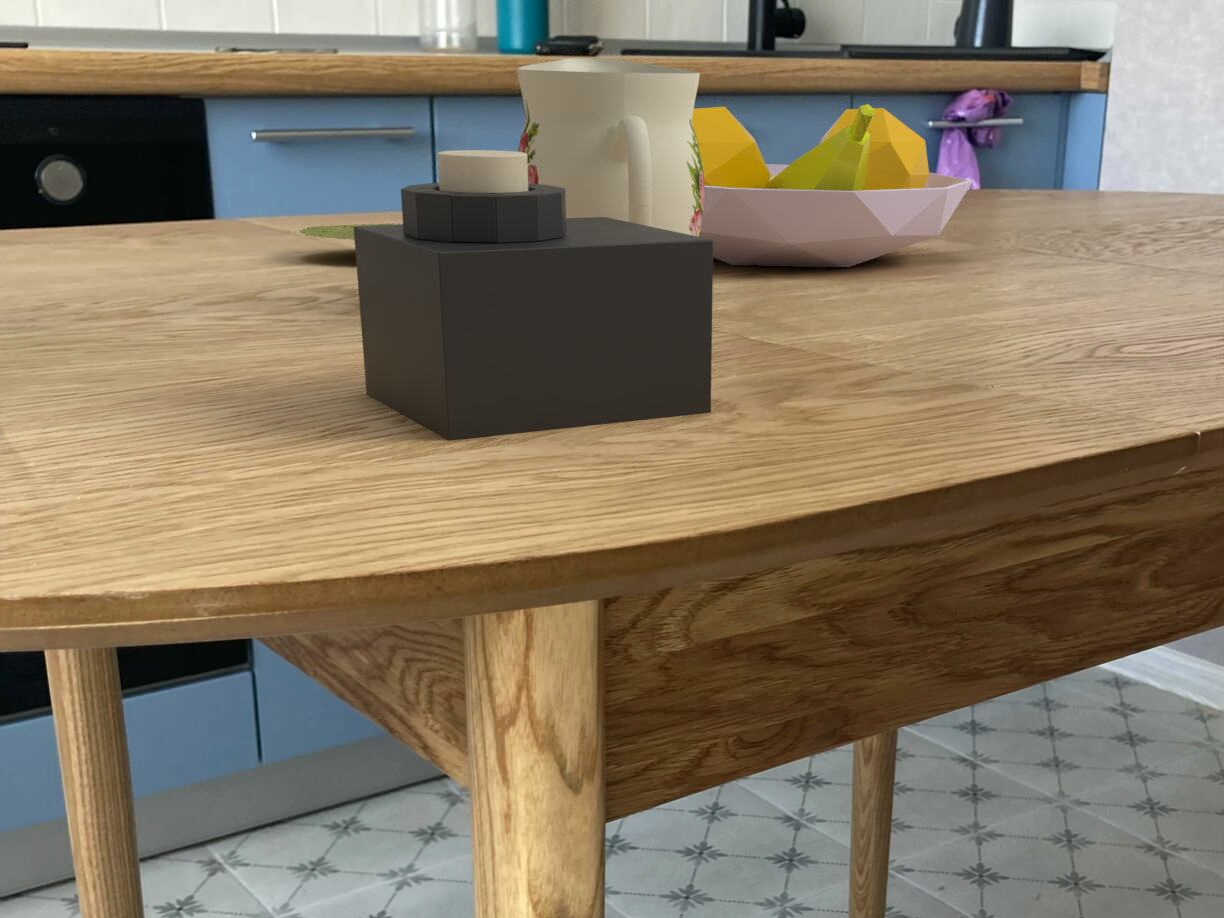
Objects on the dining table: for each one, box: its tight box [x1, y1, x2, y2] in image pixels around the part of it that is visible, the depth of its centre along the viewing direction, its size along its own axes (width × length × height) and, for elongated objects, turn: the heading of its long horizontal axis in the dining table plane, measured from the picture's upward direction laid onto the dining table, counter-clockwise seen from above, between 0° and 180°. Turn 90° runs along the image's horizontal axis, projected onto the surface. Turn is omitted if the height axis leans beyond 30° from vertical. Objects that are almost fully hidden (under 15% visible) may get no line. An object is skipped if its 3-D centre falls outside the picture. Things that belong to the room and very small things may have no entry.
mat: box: [299, 223, 401, 241], centre depth 113 cm, size 11×11×2 cm
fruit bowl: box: [692, 103, 974, 268], centre depth 115 cm, size 28×27×11 cm
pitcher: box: [516, 57, 704, 237], centre depth 89 cm, size 11×18×14 cm, turn 14°
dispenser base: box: [354, 182, 714, 442], centre depth 66 cm, size 12×10×9 cm
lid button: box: [437, 149, 528, 193], centre depth 63 cm, size 4×4×2 cm
